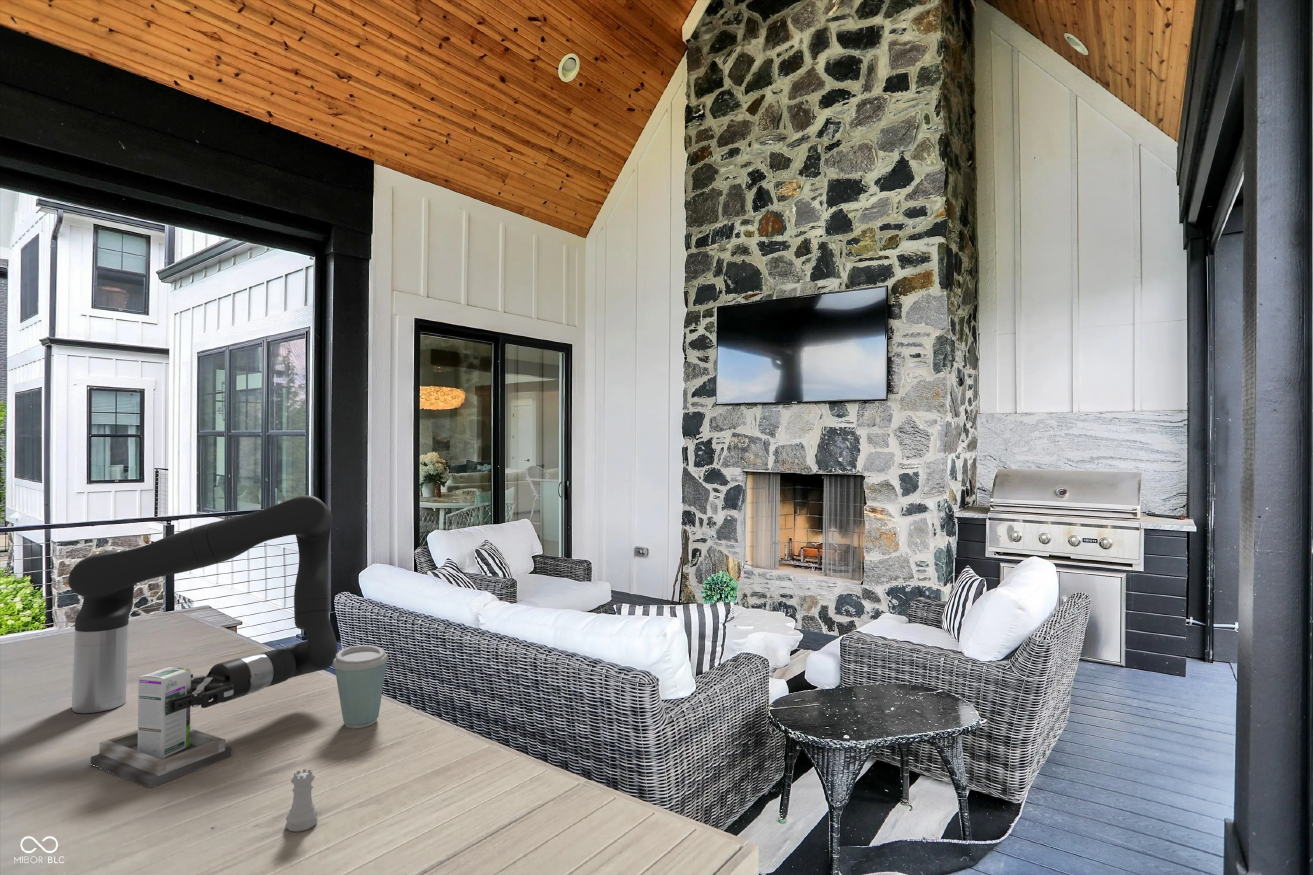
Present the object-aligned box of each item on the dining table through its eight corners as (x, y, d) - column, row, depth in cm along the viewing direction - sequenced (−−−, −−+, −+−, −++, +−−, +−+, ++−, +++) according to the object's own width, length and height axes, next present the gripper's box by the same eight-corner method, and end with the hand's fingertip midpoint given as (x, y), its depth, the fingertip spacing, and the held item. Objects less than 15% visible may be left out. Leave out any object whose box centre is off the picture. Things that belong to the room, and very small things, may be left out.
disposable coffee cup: (395, 723, 147) (397, 651, 147) (344, 738, 139) (346, 662, 139) (372, 709, 154) (374, 640, 154) (322, 722, 146) (324, 650, 146)
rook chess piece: (292, 817, 109) (294, 766, 110) (322, 816, 110) (323, 765, 110) (279, 833, 105) (281, 779, 105) (310, 832, 105) (312, 778, 105)
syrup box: (162, 760, 125) (164, 678, 125) (135, 756, 126) (138, 674, 126) (190, 746, 130) (192, 668, 130) (164, 743, 131) (166, 665, 132)
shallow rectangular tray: (90, 764, 125) (91, 745, 125) (173, 736, 138) (173, 718, 138) (150, 787, 118) (150, 766, 118) (231, 755, 130) (232, 736, 130)
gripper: (219, 652, 144) (132, 675, 130) (265, 663, 138) (178, 688, 123) (218, 689, 144) (130, 716, 129) (264, 701, 138) (177, 731, 123)
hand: (154, 702), depth 126 cm, fingers open, 8 cm apart
